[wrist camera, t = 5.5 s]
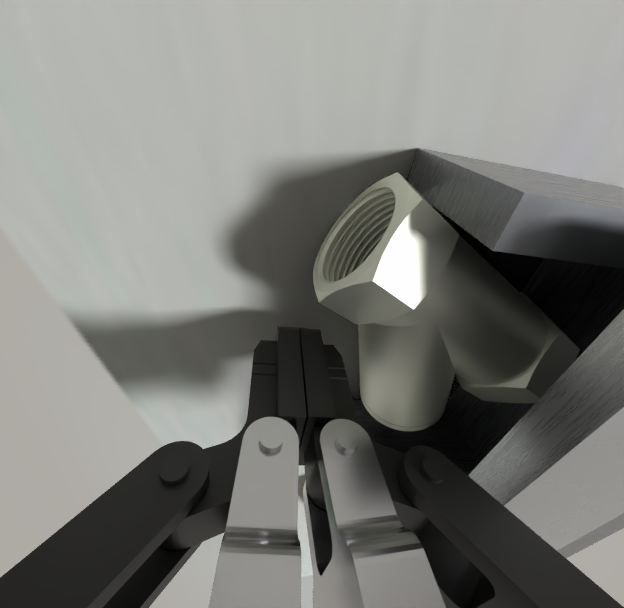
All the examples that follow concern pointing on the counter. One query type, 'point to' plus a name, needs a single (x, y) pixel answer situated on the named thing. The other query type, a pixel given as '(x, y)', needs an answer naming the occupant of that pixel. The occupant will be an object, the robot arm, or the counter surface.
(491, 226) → the bracket
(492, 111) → the counter surface
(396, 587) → the robot arm
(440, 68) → the counter surface
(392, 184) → the pipe fitting
